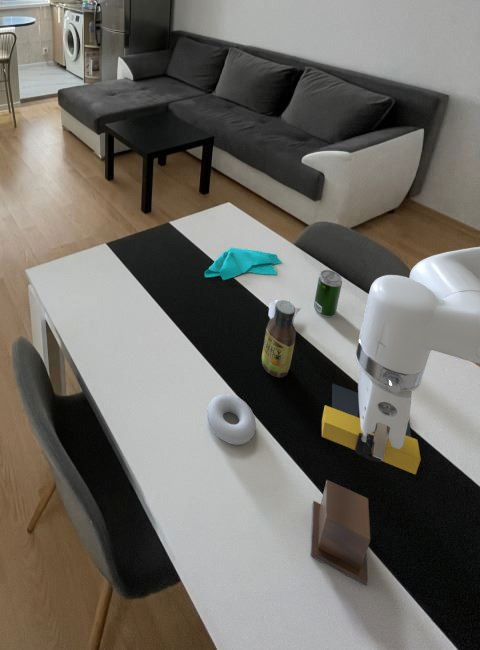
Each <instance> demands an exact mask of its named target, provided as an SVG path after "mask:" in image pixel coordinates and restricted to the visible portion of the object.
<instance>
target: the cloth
mask: <svg viewBox="0 0 480 650" xmlns="http://www.w3.org/2000/svg"><path fill="white" fill-rule="evenodd" d="M278 264H283V262H282V260H281V259H280V258H279V257H278V255H277V254H276V253H271V252H266V251H262V250H261V251H260V250H253V249H248V248H244V249H243V248H239V247H229V248H228V249H226V250H225V251H224V252H223V253H221V254H220V255H219V256H218V257H217V259H216V260H214V262H213V263H212V264H211V265H210V266H209V267H208V269H206V270H205V271H204V278H216V277H220V278H221V279H222V281H226V280H229V279H232V278H235V277H237V276H239V275H242V274H245V273H253V274H257V275H268V276H269V275H272V276H273V275H274V276H275V275H277V274H278V272H277V271H276V269H275V267H274V265H278Z"/></svg>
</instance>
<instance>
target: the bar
mask: <svg viewBox="0 0 480 650" xmlns="http://www.w3.org/2000/svg"><path fill="white" fill-rule="evenodd" d="M323 407H324V408H323V412H322V417H321V437H322V438H324V439H326V440H329V441H331V442H334V443H336V444H339V445H342V446H344V447H347V448H348V449H351V450H354V451H355V447H356V443H357V439H358V435H359V433H362V431H361V426H360V418H358V417H355V416H353V415H350V414H347V413H345V412H342V411H339V410H337V409H334V408H332V406H328V405H324V406H323ZM370 435H373V436H374V433H371V434H370ZM421 460H422V458H421V453H420V446H419V442H418V439H416V438H414V437H412V436H411V437H409V436H406V435H405V439H404V443H403V447H402V448H401V449H396V448H393V447H392V446H391V443H390V440H389V437H387V442H386V446H385V455H384V460H381V462H384V463H386V464H388V465H391V466H393V467H395V468H398V469H401V470H403V471H405V472H408V473H411V474H413V475H417V472H418V469H419V466H420V463H421Z"/></svg>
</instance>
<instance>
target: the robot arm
mask: <svg viewBox="0 0 480 650" xmlns="http://www.w3.org/2000/svg"><path fill="white" fill-rule="evenodd" d="M431 351H434V352H438V353H441V354H444V355H448V356H451V357H455V358H458V359H461V360H463V361H468V362H470V363H475V364H480V246H476V247H475V246H474V247H468V248H462V249H457V250H450V251H446V252H442V253H438V254H434V255H431V256H429V257H426V258H423V259H421V260H420V261H418V262H417V263H416V264H415V265H413V267H412V269H411V270H410V272H409V277H407V276H404V275H397V274H386V275H382V276H380V277H377V278H376V279H375V280H374V281H373V282H372V284H371V285H370V289H369V292H368V296H367V300H366V305H365V310H364V315H363V319H362V323H361V328H360V332H359V336H358V341H357V345H356V350H355V359H356V360H355V361H356V363H357V365H358V367H359V370H358V377H357V378H358V379H357V380H358V381H357V391H358V392H357V393H358V395H359V410H358V411H357V415H356V417H358V418H360V426H361V431H362V433H359V435H358V439H357V443H356V447H355V450H354V452H355V454H356V455H359V456H361V457H363V458H365V459H366V460H369V461H372V462H376V463H381V462H382V461H381V460H384V455H385V446H386V442H387V437H389V440H390V443H391V446H392V447H393V448H396V449H401V448H402V447H403V443H404V439H405V434H406V430H407V425H408V420H409V421H410V414H411V408H412V407H411V406H412V397H413V396H412V395H413V394H412V393H413V391H415V390H417V389H418V388H419V387H420V386H421V382H422V380H423V379H422V378H423V375H424V373H425V369H426V366H427V363H428V360H429V357H430V354H431ZM371 433H374V436H373V435H370V434H371Z"/></svg>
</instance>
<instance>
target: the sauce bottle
mask: <svg viewBox="0 0 480 650" xmlns="http://www.w3.org/2000/svg"><path fill="white" fill-rule="evenodd" d="M295 308H296V307H295V306H294V304H293V303H292V302H291V301H290V302H289V301H288V300H285V299H279V301H278V302H277V303H276V306H275V310H276V311H275V315H274V317H273V318H271V319H270V318H269V321H268V322H267V325H266V328H265V335H264V341H263V347H262V353H261V364H262V367H263V370H264V371H265V372H266V373H268V374H269V375H271V376H272V377H275V378H284V377H286V376H287V375H288V373H289V370H290V367H291V363H292V358H293V353H294V349H295V344H296V336H297V330H296V327H295V326H294V325H293V324H292V323H293V316H294V315H295Z"/></svg>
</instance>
